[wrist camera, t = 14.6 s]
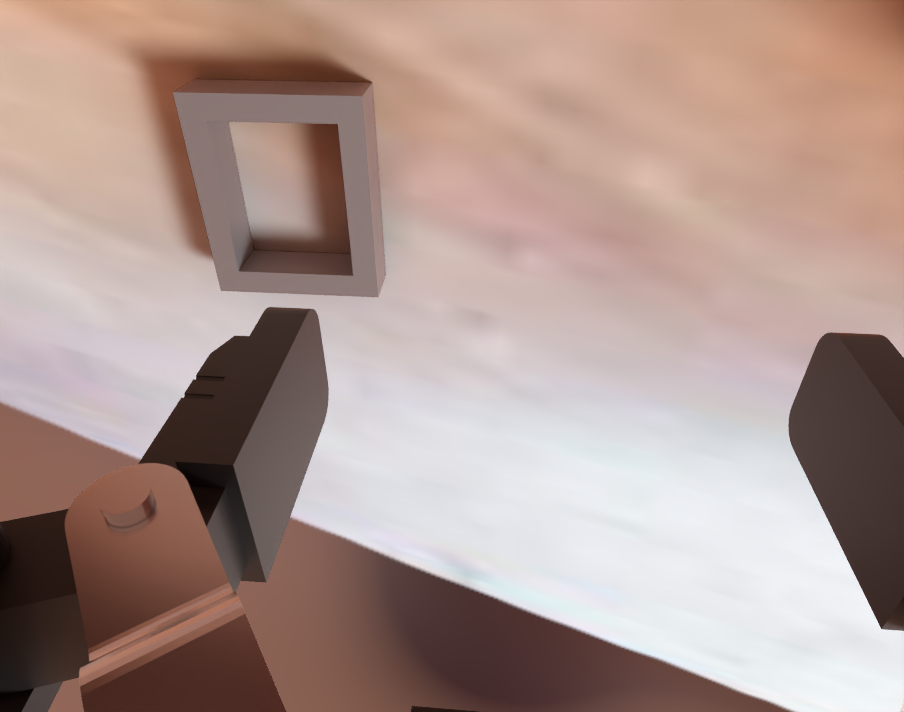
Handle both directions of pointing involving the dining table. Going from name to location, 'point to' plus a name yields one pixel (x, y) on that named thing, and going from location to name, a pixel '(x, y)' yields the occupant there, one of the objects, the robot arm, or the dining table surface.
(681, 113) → the dining table surface
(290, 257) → the frame
